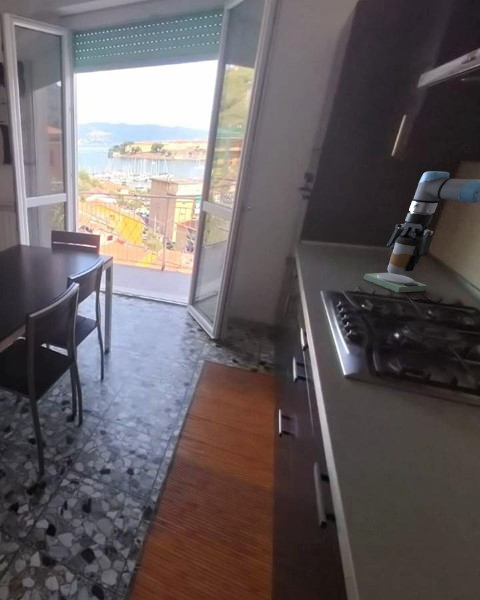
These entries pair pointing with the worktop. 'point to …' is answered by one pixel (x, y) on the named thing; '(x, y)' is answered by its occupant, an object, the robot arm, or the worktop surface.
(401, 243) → the coffee cup
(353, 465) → the worktop surface
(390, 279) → the kitchen scale
